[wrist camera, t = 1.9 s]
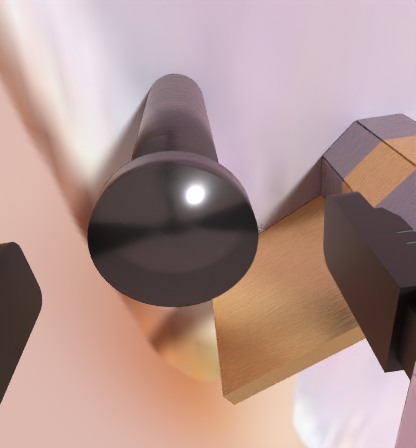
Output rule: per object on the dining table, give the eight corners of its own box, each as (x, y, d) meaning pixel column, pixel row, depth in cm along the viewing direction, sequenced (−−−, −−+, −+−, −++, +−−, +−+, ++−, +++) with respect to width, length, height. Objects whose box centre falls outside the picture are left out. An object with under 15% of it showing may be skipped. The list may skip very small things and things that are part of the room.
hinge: (188, 145, 23) (195, 245, 14) (571, 88, 23) (823, 153, 14) (209, 275, 29) (224, 406, 20) (517, 230, 28) (672, 341, 20)
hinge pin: (128, 68, 20) (62, 182, 9) (208, 56, 20) (252, 153, 9) (146, 145, 23) (113, 316, 11) (218, 134, 23) (262, 295, 11)
